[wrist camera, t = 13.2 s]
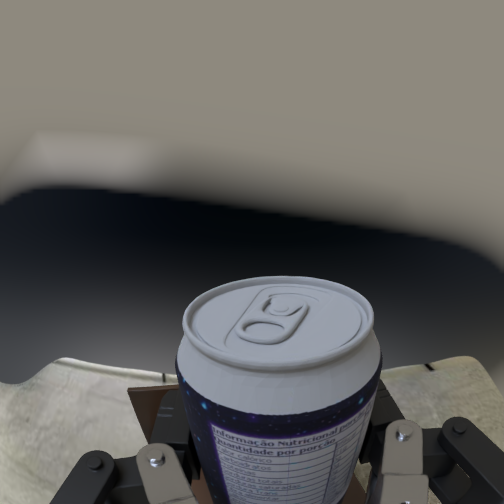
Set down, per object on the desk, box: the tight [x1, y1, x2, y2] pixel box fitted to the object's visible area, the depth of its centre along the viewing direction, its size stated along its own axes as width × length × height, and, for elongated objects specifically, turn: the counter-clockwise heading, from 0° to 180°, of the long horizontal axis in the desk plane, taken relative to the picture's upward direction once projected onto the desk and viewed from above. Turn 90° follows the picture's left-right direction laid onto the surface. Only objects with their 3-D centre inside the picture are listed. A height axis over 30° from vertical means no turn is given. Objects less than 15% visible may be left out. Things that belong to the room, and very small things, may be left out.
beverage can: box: [175, 276, 382, 504], centre depth 9 cm, size 6×6×12 cm
